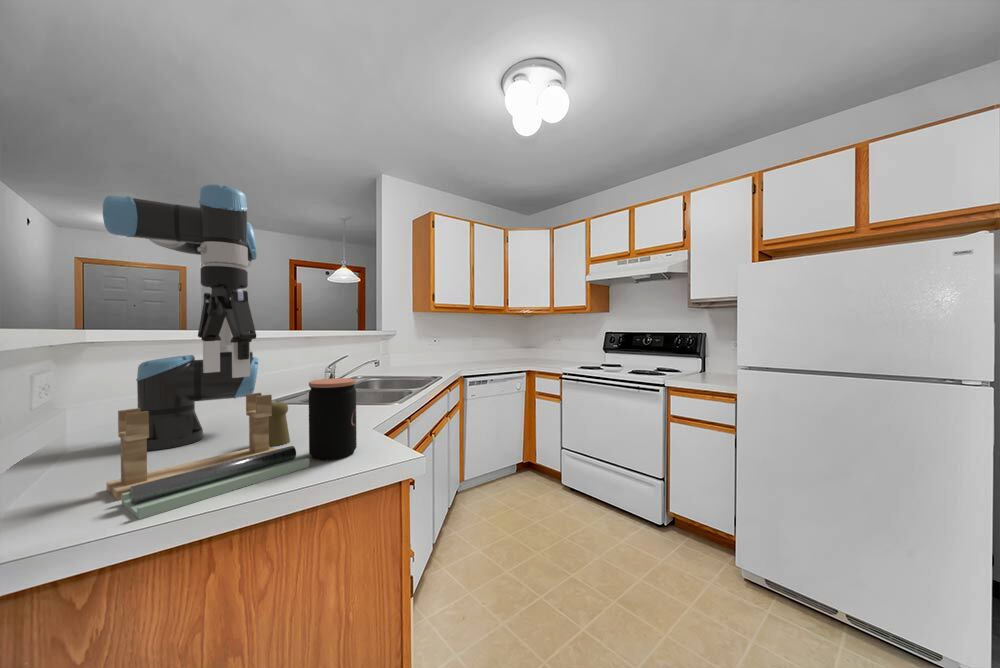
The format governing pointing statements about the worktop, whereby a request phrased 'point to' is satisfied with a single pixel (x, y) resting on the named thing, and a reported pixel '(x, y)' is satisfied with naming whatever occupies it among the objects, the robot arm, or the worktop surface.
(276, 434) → the olive green shaker
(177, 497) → the tray
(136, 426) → the rail rack
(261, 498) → the worktop surface
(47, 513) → the worktop surface
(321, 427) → the coffee jar
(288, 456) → the rail
